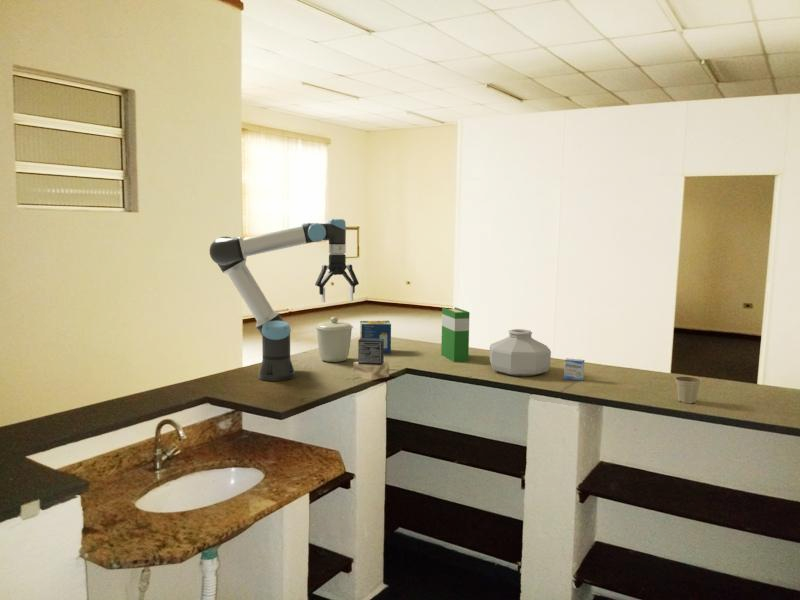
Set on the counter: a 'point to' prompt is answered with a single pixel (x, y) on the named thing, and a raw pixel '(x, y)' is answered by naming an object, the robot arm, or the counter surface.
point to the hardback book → (455, 334)
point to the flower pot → (687, 388)
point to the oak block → (371, 370)
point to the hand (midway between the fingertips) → (337, 301)
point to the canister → (334, 340)
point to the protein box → (377, 332)
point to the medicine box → (574, 369)
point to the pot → (520, 354)
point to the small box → (370, 351)
